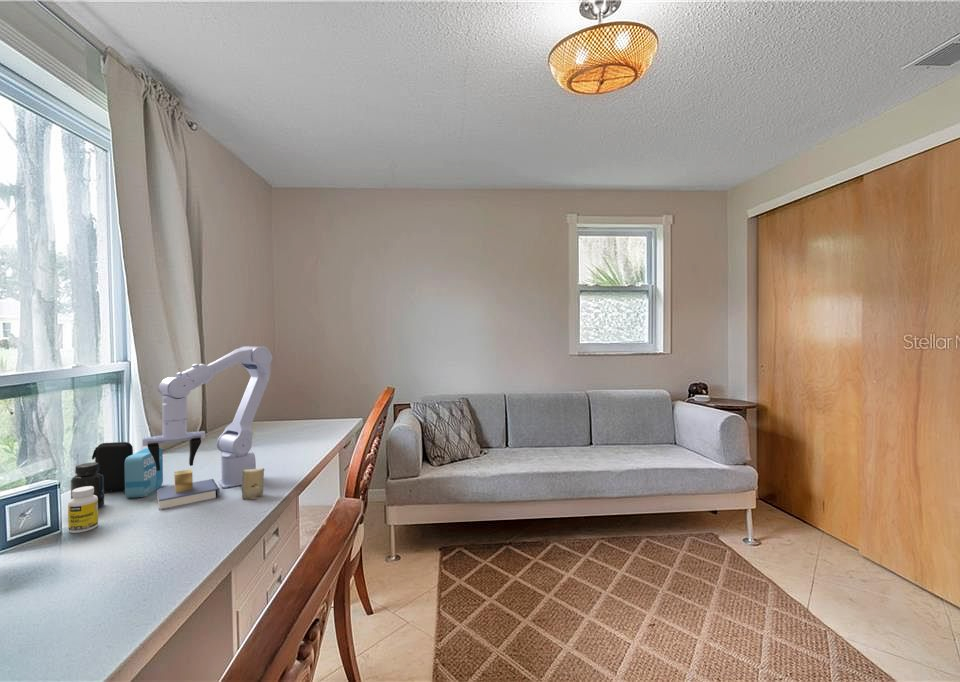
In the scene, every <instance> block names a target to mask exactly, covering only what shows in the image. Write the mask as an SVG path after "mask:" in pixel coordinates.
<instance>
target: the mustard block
mask: <svg viewBox="0 0 960 682" xmlns="http://www.w3.org/2000/svg"><path fill="white" fill-rule="evenodd" d="M173 474H174V486H175V492H176V493H179V492H184V491H189V490H193V482H194V481H193V480H194V479H193V471H192V469H183V470H178V471H174V473H173Z"/></svg>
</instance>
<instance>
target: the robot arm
mask: <svg viewBox="0 0 960 682" xmlns="http://www.w3.org/2000/svg"><path fill="white" fill-rule="evenodd" d="M273 359H274V357H273V355H272V353H271V352H270V349H269V348H267V347H266V346H263V345H260V346H251V345H250V346H249V345H244V346H241V347H239V348H236V349H233V351H231V352H229V353H226V354H225V355H223V356H221V357H220V358H218V359H216V360H214V361H212V362H210V363H208V364H204V363H194V364H192V365H191V367H190V368H188V369H186V370H184V371H182V372H181V371H179V372H177V373H175V376H168V377H165V378H164V379H162V380H161V382H160V383H159V384H158V385H159V386H158V387H157V392H158V394H159V395H160V396H161V398H162V399H161V400H162V401H161V406H162V407H161V409H162V410H161V418H162V419H161V421H162V422H161V423H162V424H161V425H162V427H161V429H162V433H161V434H160V435H156V436H155V435H154V436H148V437H147V436H146V437H142V447H147V449H149V451H150V453H151V454H152V456H153V458H154V461H155V463H156V469H157V471H160V462H159V448H160V445H161V444H169V443H177V442H184V441H185V442H186V441H189V442H188V444H189V459H188V465H189V466H194V460H195V457H196V454H197V451H198V449H199V447H200V445H201V444H202V440H204V439H206V431H205V430H201V431H200V430H199V431H188V430H187V429H188V427H187V426H188V423H187V422H188V417H187V416H188V415H187V414H188V413H187V412H188V410H187V409H188V408H187V407H188V405H187V396H188V395H189V394H190V393H191V391H193V390H195V389H197V388H198V387H200V386H201V387H202V385H204V384H206V383H208V382H210V381H212V380H213V378H214V375H216V374H217V373H219V372H222V371H224V370H226V369H228V368H230V367H233V366H235V365H237V364H240V365H242V367H244V369H246V370H247V372H248V374H249V376H250V378H249V381H248V383H247V386H246V388H245V390H244V393H243V396H242V398H241V401H240V403H239V405H238V408H237V410H236V412H235V415H234V418H233V420H232V422H231V423H230V424H228V425H227V426H226V427H225V428H224V431H223V432H222V433H221V434H220V435H219V437H218V438H217V440H216V448H217V449H218V451H220V456H221V458H220V461H221V462H220V463H221V466H220V467H221V479H219V480H218V483H219V485H220V487H221V488H222V489H228V488H232V487H238V486H242V476H243V473H242V471H243V470H248V469H257V466H256V464H257V463H256V462H257V460H256V454H255V453H254V452H253V451H252V452H250V451H251V448H252V446H253V437H254V432H253V430H252V428H251V426H252V424H253V422H254V419H255V416H256V413H257V411H258V409H259V407H260V404H261V401H262V399H263V396H264V393H265V391H266V388H267V386H268V383H269V381H270V379H271V363H272V360H273ZM159 444H160V445H159Z"/></svg>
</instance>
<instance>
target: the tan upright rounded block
mask: <svg viewBox="0 0 960 682" xmlns="http://www.w3.org/2000/svg"><path fill="white" fill-rule="evenodd" d="M264 472H265V468H263V467H261V468H256V469H248V470H243V471H242V473H243V476H242V485H241V497H242V499H243V500H255V499H258V498H261V497H263V495H264V483H265V481H264V478H265V476H264V475H265V474H264Z"/></svg>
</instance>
